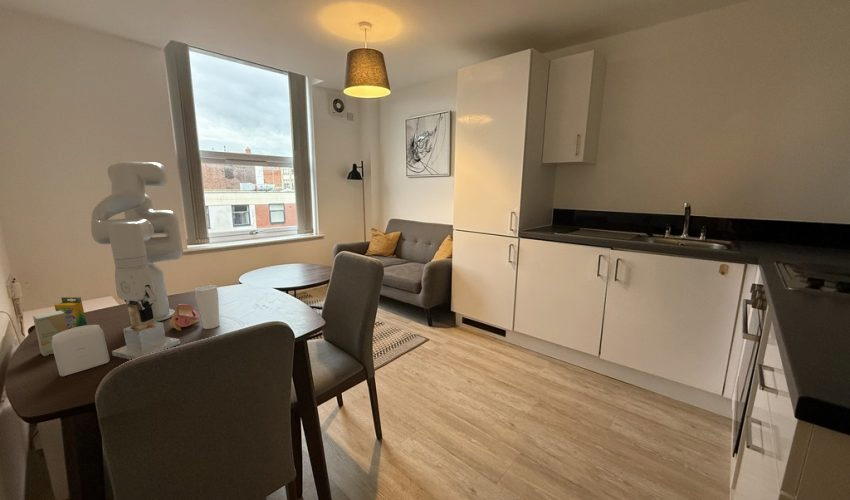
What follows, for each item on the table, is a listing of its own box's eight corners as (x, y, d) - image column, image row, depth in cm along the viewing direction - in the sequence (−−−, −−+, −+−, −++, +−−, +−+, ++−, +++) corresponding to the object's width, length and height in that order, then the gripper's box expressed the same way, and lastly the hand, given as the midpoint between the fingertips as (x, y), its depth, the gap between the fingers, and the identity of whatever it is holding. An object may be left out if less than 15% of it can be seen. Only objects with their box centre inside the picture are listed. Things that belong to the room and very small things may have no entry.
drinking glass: (211, 331, 118) (205, 291, 115) (195, 329, 119) (189, 290, 116) (226, 323, 124) (221, 285, 121) (211, 322, 126) (205, 284, 123)
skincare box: (43, 356, 101) (34, 319, 99) (40, 353, 103) (30, 316, 101) (73, 348, 107) (65, 312, 104) (69, 344, 109) (61, 309, 106)
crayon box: (59, 330, 120) (52, 300, 117) (68, 327, 122) (61, 297, 120) (79, 330, 119) (72, 299, 117) (88, 327, 122) (81, 297, 120)
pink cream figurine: (163, 335, 117) (161, 311, 121) (191, 337, 125) (188, 314, 130) (181, 322, 115) (179, 298, 119) (208, 325, 124) (206, 303, 128)
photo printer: (59, 378, 90) (49, 336, 87) (58, 373, 92) (48, 331, 90) (111, 363, 97) (102, 323, 95) (108, 358, 100) (100, 319, 98)
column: (135, 346, 104) (126, 304, 101) (149, 340, 108) (141, 299, 105) (144, 348, 102) (136, 305, 100) (158, 342, 106) (150, 301, 104)
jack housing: (112, 355, 101) (107, 329, 100) (154, 338, 113) (150, 315, 111) (140, 361, 98) (134, 335, 96) (180, 343, 109) (176, 319, 107)
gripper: (98, 263, 99) (109, 321, 102) (136, 267, 94) (148, 327, 97) (126, 258, 106) (137, 312, 109) (164, 261, 101) (173, 318, 104)
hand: (142, 318), depth 103 cm, fingers closed on column, 4 cm apart
